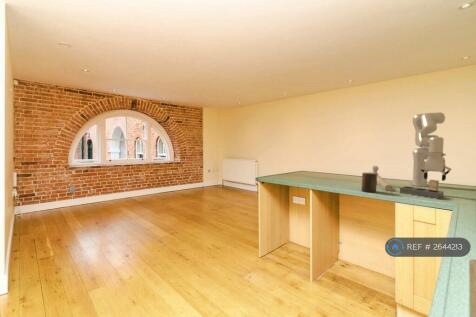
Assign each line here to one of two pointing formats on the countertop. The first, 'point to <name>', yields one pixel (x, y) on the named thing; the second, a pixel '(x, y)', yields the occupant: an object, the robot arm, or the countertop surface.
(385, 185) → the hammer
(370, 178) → the pillar candle
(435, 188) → the peg
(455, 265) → the countertop surface
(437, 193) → the rail
